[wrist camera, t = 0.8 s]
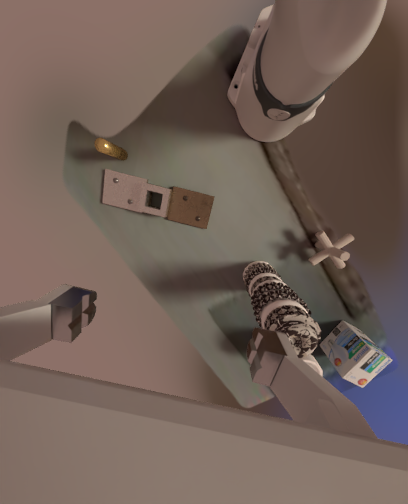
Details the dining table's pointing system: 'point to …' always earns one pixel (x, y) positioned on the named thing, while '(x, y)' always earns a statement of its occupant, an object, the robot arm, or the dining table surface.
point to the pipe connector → (331, 249)
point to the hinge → (173, 201)
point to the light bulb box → (354, 354)
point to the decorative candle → (280, 308)
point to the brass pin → (110, 149)
